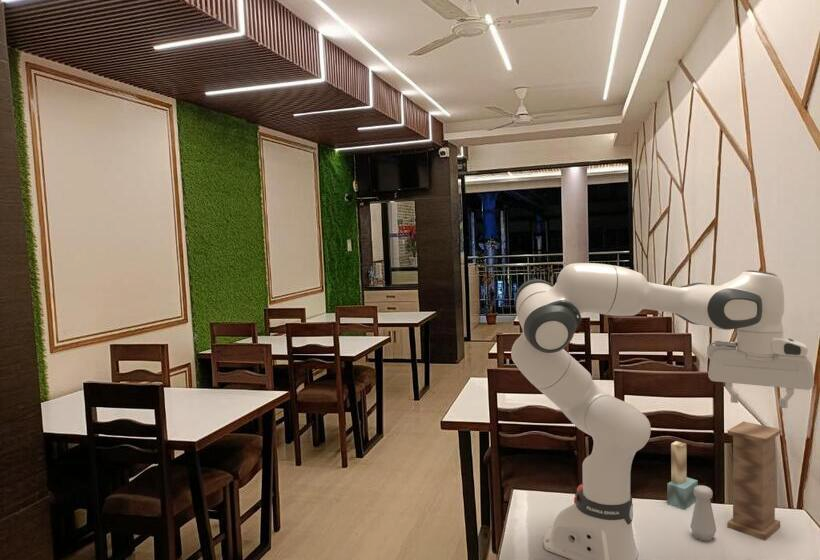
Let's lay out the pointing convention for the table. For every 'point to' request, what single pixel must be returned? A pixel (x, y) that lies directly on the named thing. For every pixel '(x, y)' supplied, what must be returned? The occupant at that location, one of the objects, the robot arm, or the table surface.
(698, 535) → the salt shaker
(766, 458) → the pedestal
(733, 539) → the table surface
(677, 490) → the mallet
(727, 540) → the table surface
